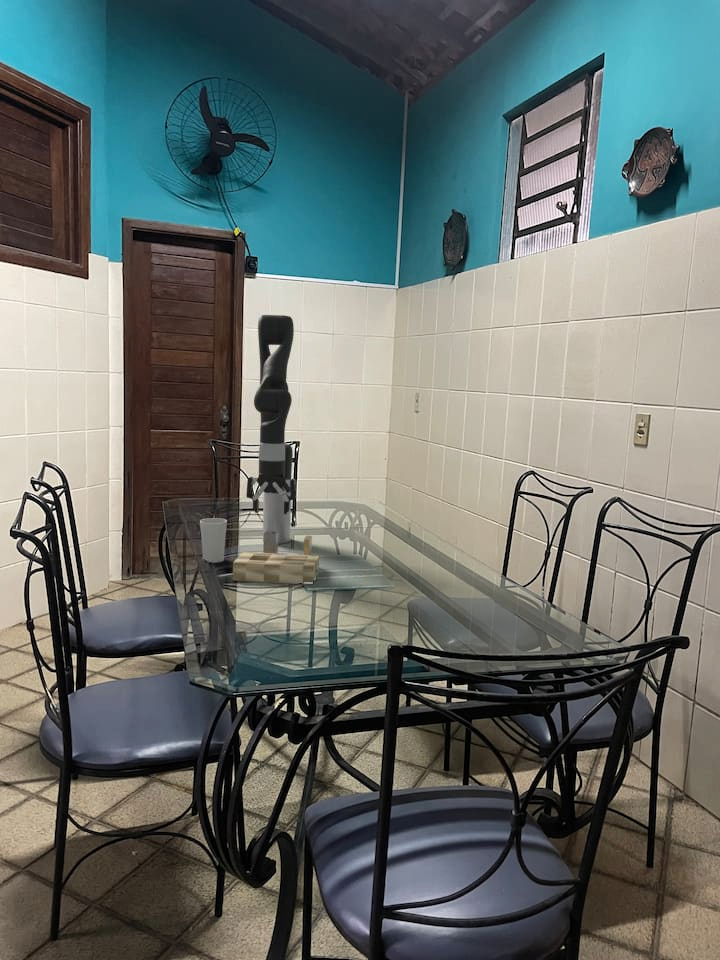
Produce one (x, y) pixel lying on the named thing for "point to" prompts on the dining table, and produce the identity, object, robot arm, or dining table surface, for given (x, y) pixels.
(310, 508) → the dining table surface
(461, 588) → the dining table surface
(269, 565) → the socket block
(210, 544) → the cup
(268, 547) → the square bit
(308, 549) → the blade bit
